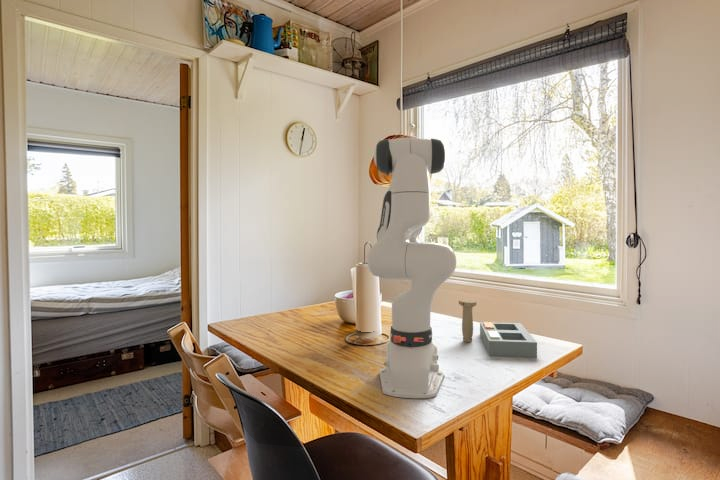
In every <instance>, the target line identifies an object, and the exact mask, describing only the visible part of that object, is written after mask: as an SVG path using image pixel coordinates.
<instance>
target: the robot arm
mask: <svg viewBox="0 0 720 480" xmlns="http://www.w3.org/2000/svg"><path fill="white" fill-rule="evenodd" d="M447 156H448V154H447V149H446V146H445V143H444V142H443V141H442V140H441V139H437V138H431V139H429V138H420V137H419V138H418V137H415V138H414V137H401V138H393V139H390V138H386V139H382V140H379V141H378V143H376V146H375V149H374V152H373V161H374V164H375V167H376V169H377V170H378V172H380V173H382V174H384V175H386V176H387V177H389V175H390V174H392V176H391V181H390V184H389V187H388V189H387V191H386V192H385V194H384V197H383V202H382V208H381V213H380V222H379V226H378V228H377V231H376V239H377V242H376V243H375V244H373V246H371V248H370V249H369V251H368V254H367V258H366V259H367V260H366V261H367V262H366V263H367V267H368V270H369V272H370V273H371V274H372V275H373V276H375V277H377V278H382V279H386V280H398V281H399V280H402V281H410V282H411V285H410V286H411V287H410V288H409V289H407V290H405V291H403V292H401V293H399V294H398V295H397V296H395V297H394V299H393V300H392V302H391V326H390V332H389V335H390V338H389V339H390V342H388V343H387V344H386V347H385V352H386V353H385V354H386V355H385V356H386V361H384V364H383V365H384V368H380V369H379V372H378V375H379V378H380V379H379V380H380V385H381V390H382V393H383V394H384V395H387V396H390V397H394V398H395V397H396V398H404V399H429V398H431V399H432V398H435V397H437V395H438V392H439V391H440V388H441V386H442V384H443V381H444V379H445V372H444V371H442V370H440V368H439V367H440V366H439V363H438V361H439V355H438V347H437V346H436V345H435V344H434V343H433V342H432V341H433V331H432V327H431V312H432V311H431V310H432V301H433V298H434V296H435V294H436V291H437V290H438V289H439V288H440V286H441V285H442V284H443V283H444V282H446V281H448V280H449V279H450V278H451V277H452V276H453V274H454V272H455V270H456V267H457V257H456V254H455V252H454V250H453V249H452V247H451V246H449V245H447V244H443V243H438V242H433V241H432V242H431V241H428V242H427V241H426V242H424V241H423V242H421V241H420V239H418V236H419V235H420V234H421V233H422V230H423V227H425V226H426V225H427V224H428V222H429V221H430V219H431V185H430V184H431V183H430V174H431V175H432V174H438V173H441V172H442V170H443V169H444V167H445V165H446V162H447Z"/></svg>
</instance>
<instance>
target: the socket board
mask: <svg viewBox="0 0 720 480" xmlns="http://www.w3.org/2000/svg"><path fill="white" fill-rule="evenodd" d="M479 335H480V338H481V340H482V342H483V345H484V348H485V350H486V353H487V355H488V356H490V357H491V356H492V357H509V358H510V357H514V358H536V359H537V358H538V342H537V340H535V338H534V337H533V336H532V334H530V332H529V331H528V330H527V328H525V326H524V325H523V324H522V323H521V322H497V321H496V322H490V321H480V322H479Z"/></svg>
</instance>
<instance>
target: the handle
mask: <svg viewBox="0 0 720 480" xmlns="http://www.w3.org/2000/svg"><path fill="white" fill-rule="evenodd" d="M458 305H460V306H461V307H462V317H461V318H462V319H461V332H462V341H463V342H464V343H470V342H472V341H473V336H474V335H473V334H474V320H473V318H474V317H473V308H474V307H476V306H477V301H476V300H473V299H459V300H458Z"/></svg>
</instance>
